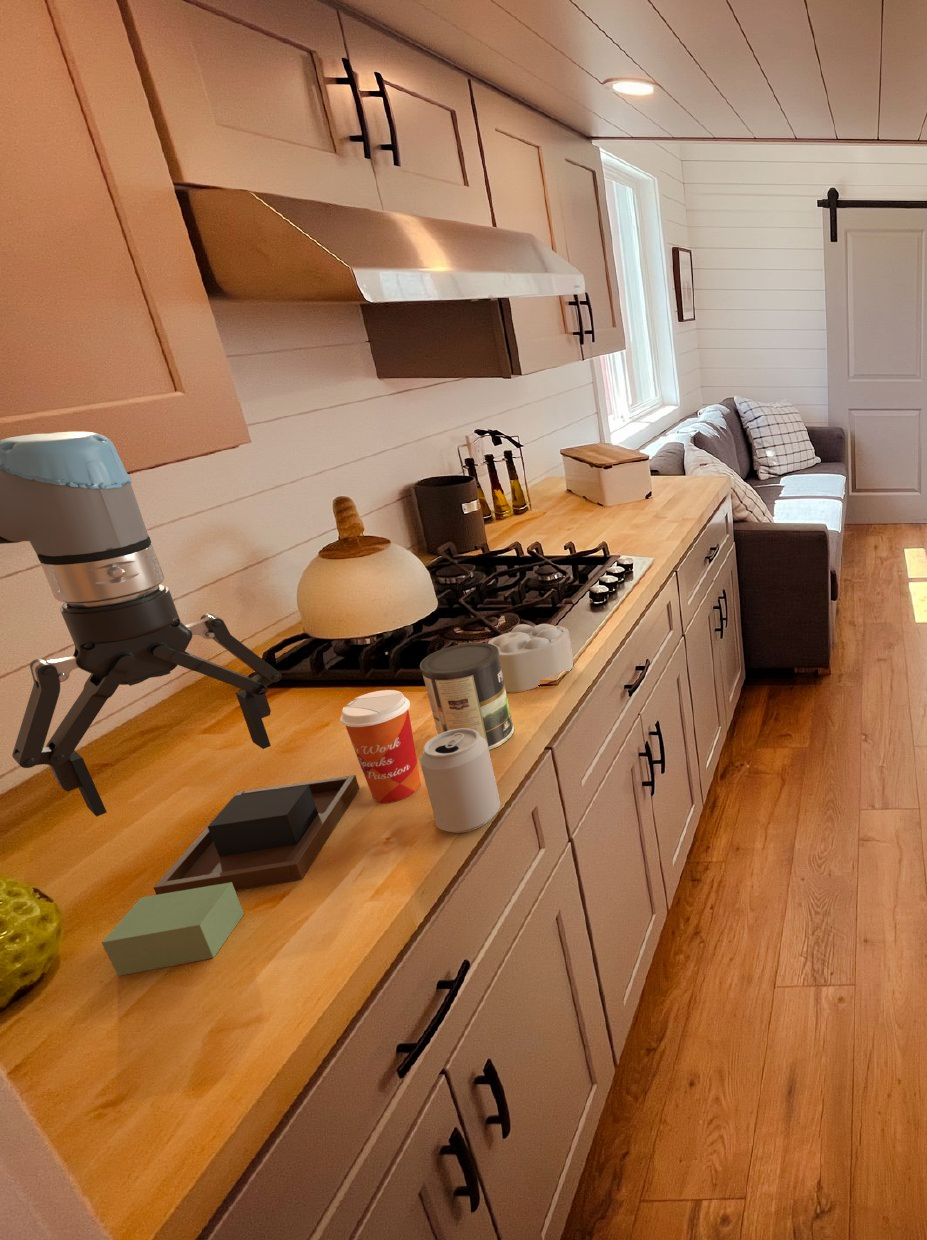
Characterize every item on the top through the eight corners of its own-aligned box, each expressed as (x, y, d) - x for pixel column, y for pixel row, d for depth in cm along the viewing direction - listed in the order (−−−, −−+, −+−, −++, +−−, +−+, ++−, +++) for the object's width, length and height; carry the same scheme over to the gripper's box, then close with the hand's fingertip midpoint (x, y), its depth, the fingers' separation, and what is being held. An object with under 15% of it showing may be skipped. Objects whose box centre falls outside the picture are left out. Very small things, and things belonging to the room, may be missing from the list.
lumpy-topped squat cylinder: (489, 675, 131) (480, 632, 128) (561, 653, 140) (555, 612, 137) (509, 696, 124) (500, 651, 121) (584, 672, 133) (577, 629, 130)
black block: (219, 857, 87) (207, 826, 85) (245, 824, 92) (234, 795, 91) (297, 844, 89) (286, 814, 87) (318, 813, 94) (309, 785, 93)
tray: (160, 903, 81) (153, 888, 80) (243, 805, 97) (237, 791, 96) (302, 879, 85) (296, 864, 84) (359, 788, 100) (355, 774, 100)
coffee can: (503, 712, 119) (487, 635, 114) (523, 739, 112) (507, 658, 107) (432, 736, 113) (412, 655, 108) (448, 765, 106) (428, 680, 101)
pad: (117, 976, 72) (100, 942, 71) (155, 929, 78) (141, 897, 76) (213, 958, 74) (199, 925, 73) (244, 913, 80) (232, 882, 78)
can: (423, 834, 92) (401, 754, 88) (463, 797, 99) (445, 721, 95) (476, 840, 91) (457, 760, 87) (513, 802, 98) (497, 726, 94)
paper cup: (350, 808, 96) (323, 718, 92) (386, 773, 104) (362, 688, 99) (410, 807, 97) (386, 717, 92) (441, 772, 104) (420, 687, 99)
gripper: (-82, 651, 59) (24, 858, 66) (283, 563, 79) (333, 730, 86) (-101, 630, 62) (2, 829, 70) (253, 551, 82) (303, 712, 90)
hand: (185, 775), depth 78 cm, fingers open, 13 cm apart
